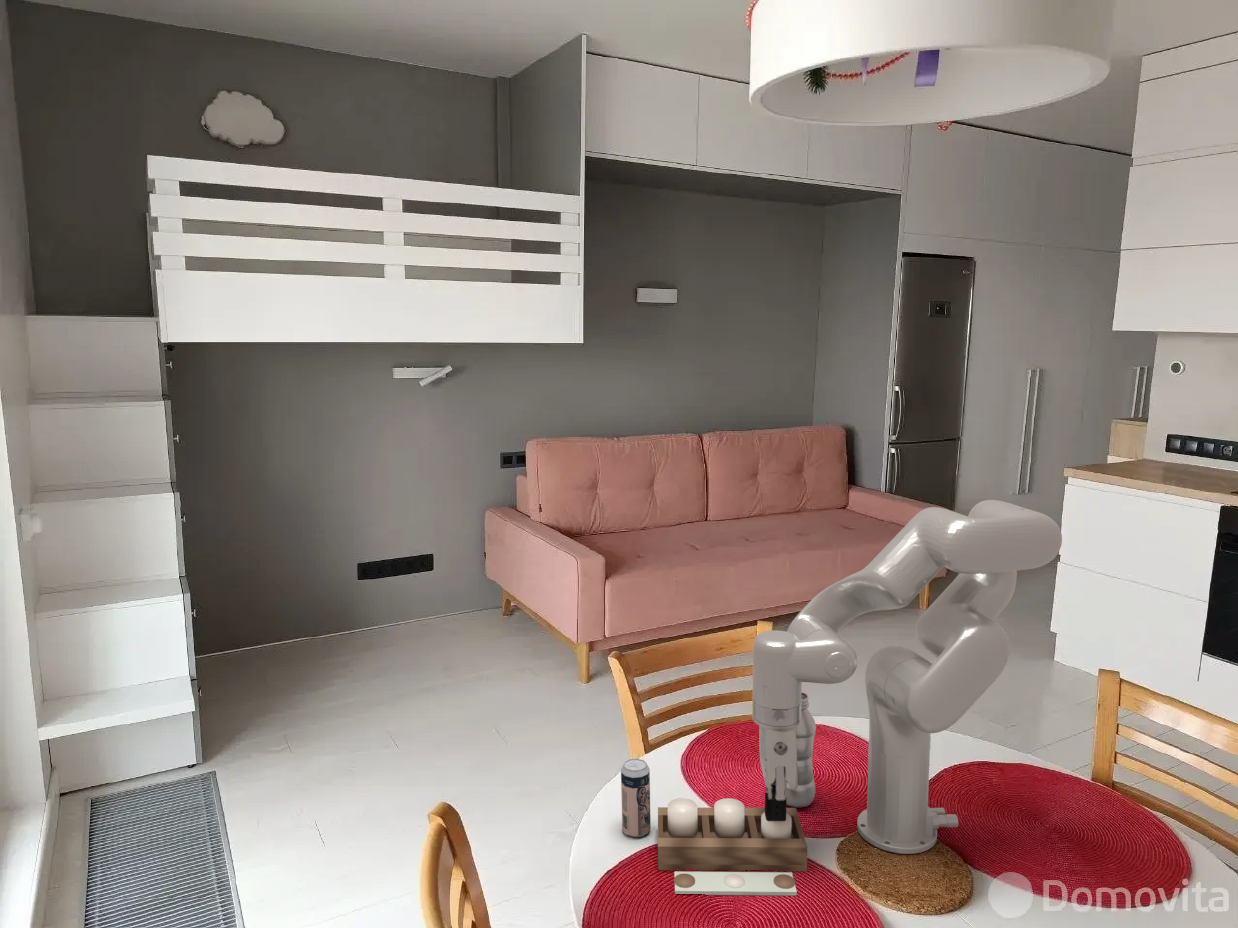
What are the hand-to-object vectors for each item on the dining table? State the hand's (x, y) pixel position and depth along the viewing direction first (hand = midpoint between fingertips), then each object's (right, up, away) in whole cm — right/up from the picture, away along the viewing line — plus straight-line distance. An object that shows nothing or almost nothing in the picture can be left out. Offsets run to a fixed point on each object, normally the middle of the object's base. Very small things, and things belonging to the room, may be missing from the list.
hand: (775, 818), depth 137 cm
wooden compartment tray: (-7, -6, +1) cm, 9 cm away
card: (-8, -7, -8) cm, 13 cm away
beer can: (-22, -5, +7) cm, 24 cm away
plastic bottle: (+6, -3, +14) cm, 16 cm away
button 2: (0, -4, +1) cm, 4 cm away
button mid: (-7, -2, +1) cm, 8 cm away
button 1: (-15, -3, +1) cm, 15 cm away
